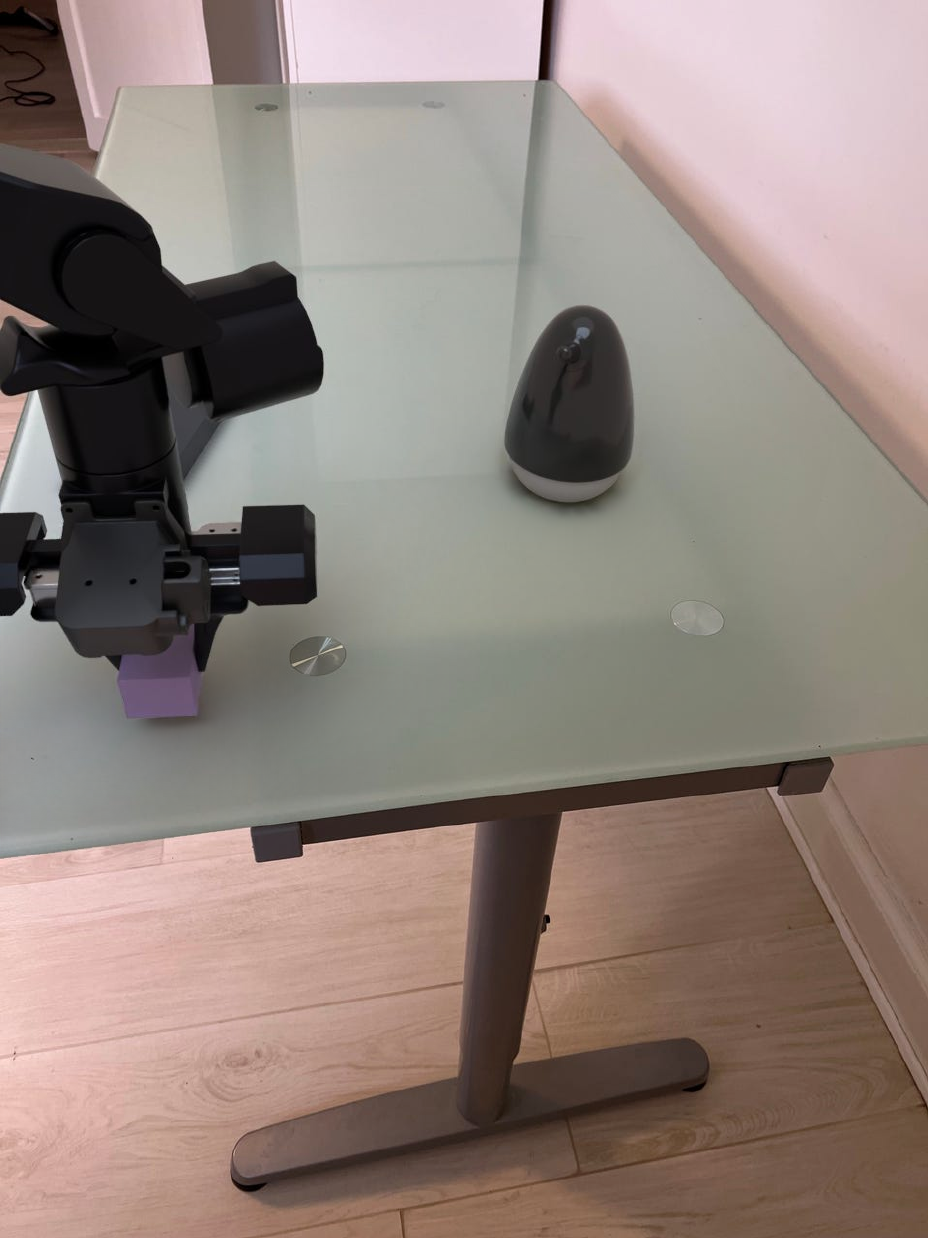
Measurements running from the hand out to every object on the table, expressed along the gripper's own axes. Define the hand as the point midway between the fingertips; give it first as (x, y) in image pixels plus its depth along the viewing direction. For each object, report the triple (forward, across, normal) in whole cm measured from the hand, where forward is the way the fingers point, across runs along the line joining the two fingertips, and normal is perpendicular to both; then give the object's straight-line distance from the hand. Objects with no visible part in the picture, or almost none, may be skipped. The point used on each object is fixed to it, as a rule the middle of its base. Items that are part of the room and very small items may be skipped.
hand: (164, 668), depth 59 cm
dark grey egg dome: (+4, +29, +23) cm, 37 cm away
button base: (+4, -4, +32) cm, 32 cm away
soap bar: (+1, 0, 0) cm, 1 cm away
